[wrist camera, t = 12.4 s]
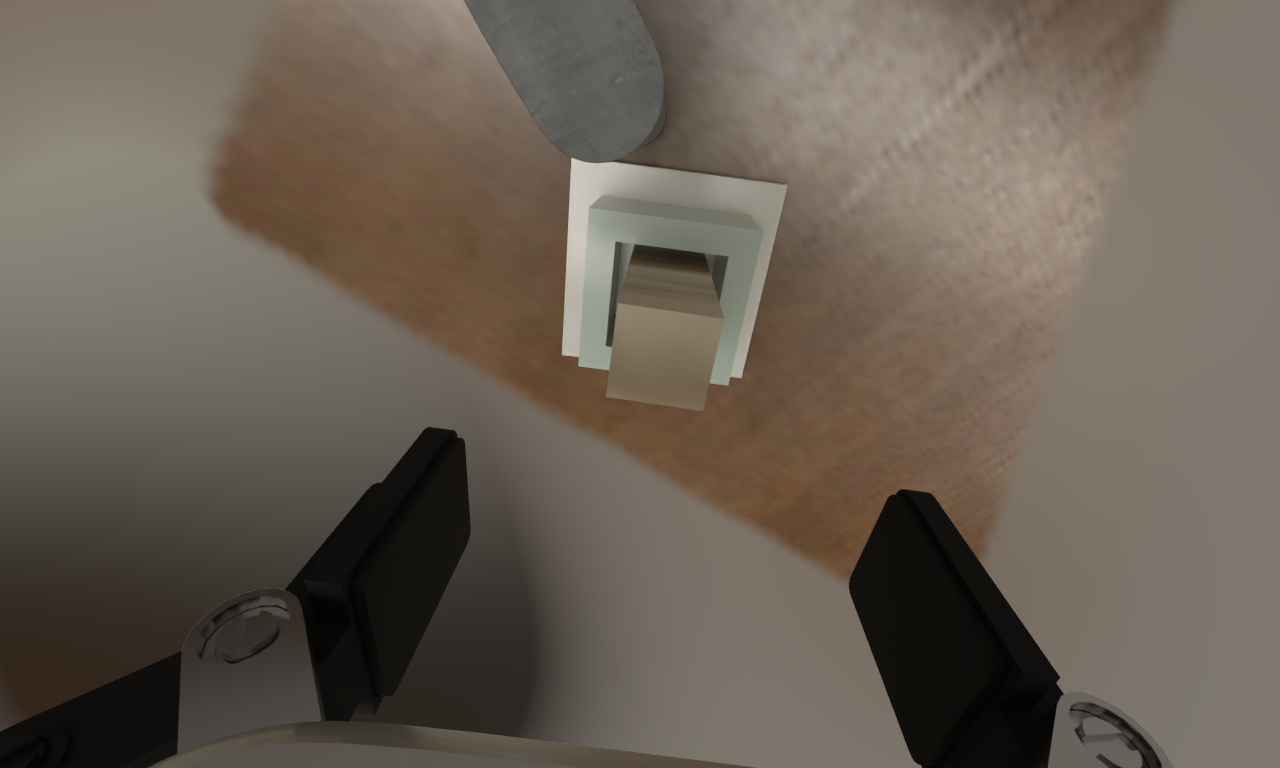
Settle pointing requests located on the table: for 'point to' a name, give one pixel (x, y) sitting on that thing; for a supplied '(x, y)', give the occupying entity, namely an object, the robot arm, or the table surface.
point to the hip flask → (580, 71)
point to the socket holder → (668, 218)
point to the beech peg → (665, 329)
